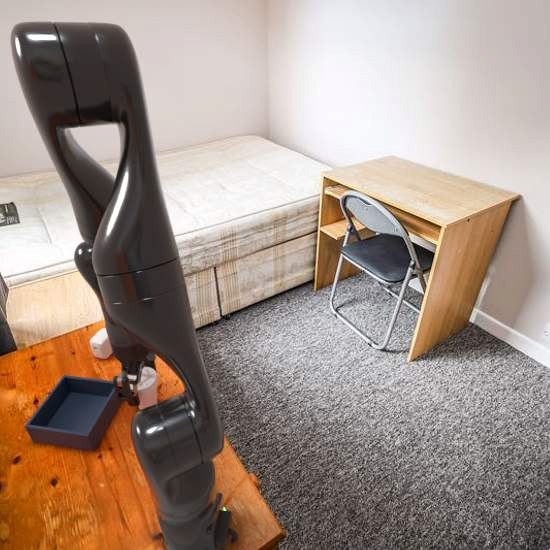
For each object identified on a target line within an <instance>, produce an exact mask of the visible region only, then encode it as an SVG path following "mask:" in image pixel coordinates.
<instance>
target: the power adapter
mask: <svg viewBox="0 0 550 550" xmlns="http://www.w3.org/2000/svg"><path fill="white" fill-rule="evenodd" d="M89 347H90V349H91V352H92V354H93V356H94V357H95V358H98V359H102V360H107V359H108V358H110V356H111V355H112V354H113V351H112V348H111V345H110V341H109V338H108V335H107V331H106V327H101V328H100V329H99V330H98V331H97V332H96V333H95V334H94V335H93V336H92V337H91V338H90V340H89Z"/></svg>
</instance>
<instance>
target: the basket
mask: <svg viewBox="0 0 550 550" xmlns="http://www.w3.org/2000/svg"><path fill="white" fill-rule="evenodd" d="M122 404H123V401H121V400H118V399H117V395H116V391H115V387H114V383H113V380H105V379H97V378H90V377H83V376H76V375H68V374H63V375H62V376H61V378H60V379H59V380H58V382H57V383H56V384H55V386H54V387H53V389H52V390H51V391H50V393H48V395H47V396H46V397H45V399H44V400H43V401H42V403H41V404H40V405H39V407H38V408H37V409H36V411H34V413H33V415H32V416H31V417H30V419H29V420H27V422H26V424H25V425H24V426H23V427H24V428H25V430H26V432H27V435H28V436H29V438H30V439H31V441H32V442H33V443H36V444H42V445H48V446H49V445H50V446H57V447H62V448H69V449H73V450H74V449H76V450H81V451H88V452H96V449H97V448H98V445H99V444H100V442H101V441H102V438H103V437H104V435H105V434H106V431H107V429H108V428H109V426H110V425H111V423H112V420H113V419H114V417H115V415H116V414H117V412H118V410H119V408H120V407H121V405H122Z"/></svg>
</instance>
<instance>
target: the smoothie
mask: <svg viewBox="0 0 550 550" xmlns="http://www.w3.org/2000/svg"><path fill="white" fill-rule="evenodd" d="M128 378H129V379H136V376H132V375H128ZM158 381H159V376H158V373H157V372H156V371H155V370H154V369H152V368H150V367H144V368H143V370H142V376H141V382H140V383H139V384H138V389H137V392H138V396H139V400H140V405H139V406H138V407H137V408H138V409H139V411H140V410H141V409H144V408H146V407H149V406H151V405H154V404H156V403H158V385H157V383H158ZM130 388H131V389H132V390H133V385H132V384H130Z"/></svg>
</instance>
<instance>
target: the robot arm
mask: <svg viewBox="0 0 550 550" xmlns="http://www.w3.org/2000/svg"><path fill="white" fill-rule="evenodd" d="M9 38H10V39H9V40H10V41H9V42H10V49H11V57H12V60H13V65H14V70H15V73H16V76H17V81H18V83H19V86H20V89H21V92H22V94H23V98H24V100H25V103H26V105H27V108H28V111H29V113H30V115H31V117H32V120H33V122H34V124H35V127H36V129H37V131H38V133H39V136H40V138H41V140H42V142H43V144H44V147H45V149H46V151H47V154H48V156H49V158H50V161H51V162H52V163H53V164H52V165H53V166H54V168H55V171H56V172H57V174H58V176H59V178H60V181H61V183H62V184H63V186H64V189H65V190H66V193H67V196H68V198H69V201H70V204H71V207H72V211H73V215H74V218H75V222H76V225H77V228H78V231H79V235H80V238H81V239H82V242H80V243H79V244H78V245H77V246H76V248H75V249H74V252H73V262H74V264H75V268H76V270H77V271H78V272H79V274H80V276H81V277H82V278H83V280H84V281H85V282H86V283H87V285H88V286H89V287H90V289H91V290H92V291H93V293H94V295H95V296H96V298H97V300H98V303H99V305H100V308H101V312H102V316H103V318H104V325H105V327H104V328H106V331H107V335H108V338H109V341H110V345H111V348H112V351H113V353H112V354H113V357H114V358H115V359H116V360H117V361H118V362H119V363H120V364H121V368H120V369H121V370H120V371H121V372H120V374H119V375H114V376H113V377H112V381H113V383H114V387H115V391H116V395H117V399H118V400H121V401H122V402H127V406H128V407H134V408H139V407H138V406H139V405H140V400H139V396H138V392H137V389H138V384H139V383H140V382H141V376H142V370H143V368H144V367H150V368H152V369H154V370H155V371H156V373H157V372H158V371H157V366H156V359H157V358H159V359H160V360H161V361H162V362H163V363H164V364H165V365H166V366H167V367H168V368H169V369H170V370H171V371H172V372H173V373H174V374H175V375H176V376H177V378H178V379H179V381H180V382H181V383H182V387H183V391H182V392H181V393H178V394H176V395H173V396H171V397H169V398H166V399H163V400H161V401H159V402H157V403H156V404H154V405H151V406H149V407H146V408H144V409H141V410H140V409H139V410H138V411H136V412H135V413H134V414H133V416H132V419H131V422H130V438H131V444H132V448H133V451H134V454H135V457H136V459H137V463H138V464H139V467H140V469H141V471H142V474H143V475H144V478H145V480H146V483H147V486H148V490H149V495H150V498H151V501H152V505H153V507H154V511H155V514H156V517H157V521H158V524H159V527H160V530H161V533H162V534H161V535H162V545H163V548H164V549H165V550H227V545H228V540H229V536H231V539H230V542H231V544H235V543H236V542H237V540H238V539H239V535H238V533H237V532H236V531H235V530H234V529H232V527H231V526H232V520H233V515H232V513H233V512H232V511H230V510H227V509H226V508H225V504H224V495H223V493H222V492H218V483H217V473H216V466H215V463H214V459H215V458H217V457H219V455H221V453H222V452H223V451H224V447H225V431H224V426H223V421H222V417H221V414H220V412H219V408H218V404H217V401H216V398H215V395H214V391H213V388H212V384H211V381H210V378H209V374H208V372H207V368H206V365H205V361H204V359H203V355H202V351H201V348H200V344H199V339H198V336H197V332H196V325H195V322H194V317H193V311H192V307H191V302H190V297H189V292H188V286H187V280H186V277H185V273H184V268H183V264H182V260H181V256H180V251H179V248H178V245H177V240H176V237H175V233H174V229H173V225H172V222H171V218H170V214H169V210H168V207H167V202H166V199H165V195H164V190H163V186H162V181H161V176H160V172H159V167H158V162H157V154H156V150H155V144H154V138H153V133H152V127H151V121H150V114H149V108H148V102H147V98H146V97H147V96H146V91H145V85H144V81H143V76H142V71H141V67H140V62H139V59H138V55H137V52H136V49H135V47H134V45H133V42H132V39H131V37H130V36H129V34H128V33H127V31H126V30H125V29H124V28H123V27H122V26H120V25H118V24H117V23H110V22H95V21H94V22H93V21H89V22H83V21H82V22H78V21H77V22H75V21H73V22H72V21H23V22H18V23H16V24H14V26H13V27H12V29H11V32H10V37H9ZM113 125H116V126H117V129H118V134H119V135H118V136H119V145H120V146H119V160H118V166H117V171H116V175H115V176H114V175H113V174H112V173H111V172H110V171H109V170H107V169H106V168H105V166H103V165H102V164H100V163H99V162H98V161H97V160H96V159H94V158H93V157H92V156H91V155H90V154H89V153H88V152H87V151H86V150H85V149H84V148H83V147H82V146H81V145H80V144H79V142H78V140H77V139H76V138H75V137H74V135H73V132H72V130H71V129H78V128H90V127H100V126H101V127H102V126H113ZM128 375H132V376H136V379H129V378H128ZM130 384H132V385H133V390H132V389H131V388H130ZM165 547H166V548H165Z"/></svg>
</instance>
